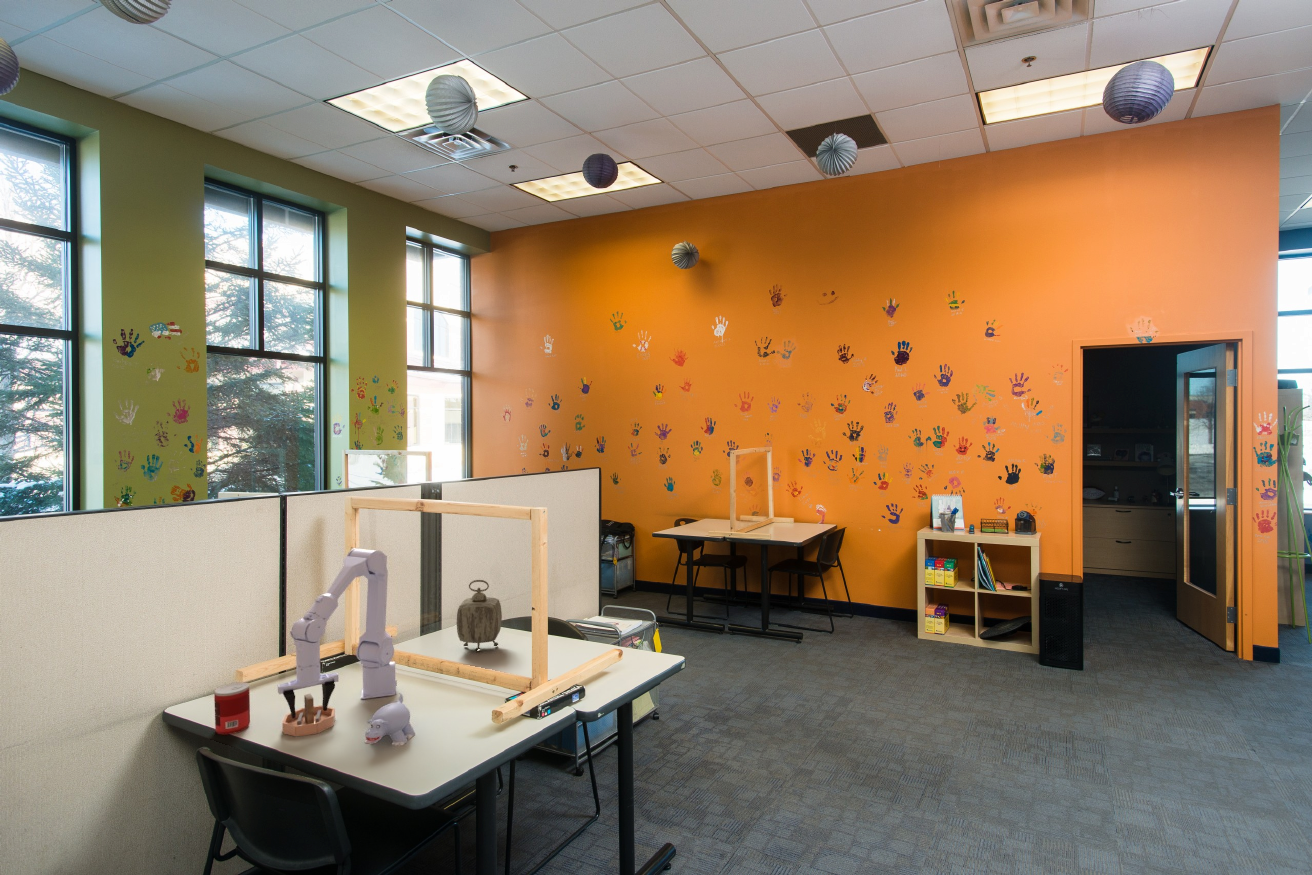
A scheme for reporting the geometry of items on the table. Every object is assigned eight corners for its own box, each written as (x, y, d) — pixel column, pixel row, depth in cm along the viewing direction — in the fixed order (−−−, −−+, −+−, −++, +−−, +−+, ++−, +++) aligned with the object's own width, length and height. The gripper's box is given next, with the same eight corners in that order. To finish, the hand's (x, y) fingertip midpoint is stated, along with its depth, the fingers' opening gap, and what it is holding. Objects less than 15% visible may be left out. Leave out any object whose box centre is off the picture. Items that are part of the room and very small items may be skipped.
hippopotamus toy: (350, 753, 171) (350, 715, 170) (383, 726, 186) (383, 691, 185) (391, 757, 169) (390, 718, 169) (421, 729, 184) (420, 694, 184)
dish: (336, 712, 194) (336, 703, 194) (332, 731, 183) (332, 721, 183) (287, 719, 190) (287, 709, 190) (280, 738, 179) (280, 728, 179)
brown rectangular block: (310, 718, 189) (310, 693, 188) (313, 723, 185) (313, 698, 185) (304, 720, 188) (304, 694, 187) (307, 725, 184) (307, 699, 184)
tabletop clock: (502, 645, 250) (501, 576, 250) (497, 654, 241) (496, 582, 240) (461, 646, 250) (460, 577, 249) (455, 654, 241) (454, 583, 240)
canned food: (256, 723, 187) (255, 683, 187) (230, 737, 180) (229, 695, 179) (235, 720, 190) (234, 680, 189) (208, 732, 182) (207, 691, 182)
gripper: (334, 653, 193) (335, 701, 194) (275, 664, 185) (276, 715, 185) (339, 660, 188) (340, 710, 188) (279, 672, 179) (280, 724, 180)
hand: (309, 713), depth 186 cm, fingers open, 7 cm apart
